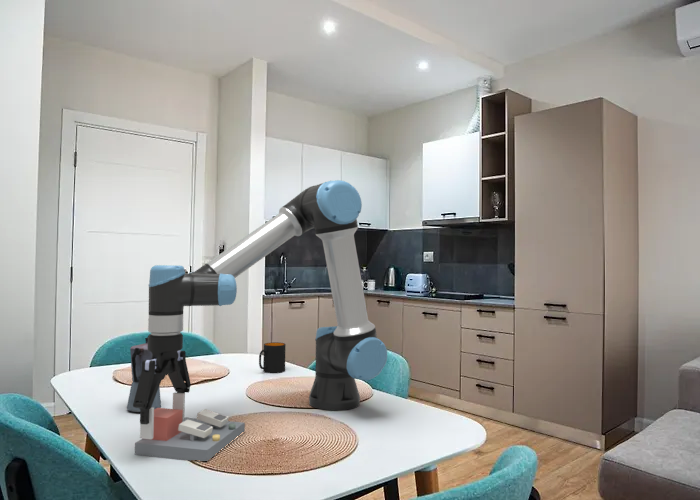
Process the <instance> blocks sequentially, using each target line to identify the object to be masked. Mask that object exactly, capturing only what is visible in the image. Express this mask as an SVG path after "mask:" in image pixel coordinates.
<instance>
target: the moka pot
mask: <svg viewBox="0 0 700 500" xmlns="http://www.w3.org/2000/svg"><path fill="white" fill-rule="evenodd" d="M129 350H130V362H131V363H130V366H131V377H132V378H131V380H132V382H131V384H130V385H131V386H130V390H129V395H128V400H127V404H126V410H127V411H129V412H134V413H135V412H136V413H140V408H135V407H133V403H134V399H135V395H136V391H137V387H138V383H139V379H140V376H141V372H142V361H143V360H151V358H152V352H150V351H148V336H147V337H145V343H141V344H137V345H132V346H131V347H130V349H129ZM154 374H156V373H154ZM160 389H161V388H160V386H159V388H158V391H157V393H156V396H155V399H154V401H153V404H152V408H154V409H156V408H162V401H161V399H162V398H161V390H160ZM139 402H140V401H139ZM147 403H148V402H147Z"/></svg>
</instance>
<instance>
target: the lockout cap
mask: <svg viewBox="0 0 700 500" xmlns="http://www.w3.org/2000/svg"><path fill="white" fill-rule="evenodd" d="M182 417H183V410H179V409H173V408H168V407H167V408H165V407H161V408H156V409H154V433H153V439H152V440H162V441H167V440H169V439H171V438H172V437H174V436H176V435H177V434H179V433H181V432H182V431H178V428H179V424H180V423H182ZM141 439H143V438H140V440H141Z"/></svg>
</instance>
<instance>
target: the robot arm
mask: <svg viewBox="0 0 700 500" xmlns="http://www.w3.org/2000/svg"><path fill="white" fill-rule="evenodd" d="M362 204H363V203H362V198H361V195H360V192H358V190H357V189H356V187H355V186H353V185H352V184H351V183H350V182H347V181H345V180H339V179H337V180H328V181H325V182H322V183H319V184H316V185H312V186H309V187H307V188H305V189H303V190H302V191H301V192H300V193H299V194H297V195H296V196H295V197H294V198H292V199H291V200H290V201H289V202H287V203H286V204H285V205H283V206H281V207H280V208H279V210H278V214H277V215H275V216H273V217H271V218H270V219H269V220H267V221H266V222H264V223H263V224H262V225H261V226H259V227H258V228H256V229H255V230H253V231H252V232H250V233H248V234H247V235H246V236H244V237H243V238H241V239H240V240H238V241H237V242H236V243H234V244H233V245H231V246H230V247H228V248H226V250H225V249H224V251H222V252H221V253H220V254H218V255H217V256H215V257H214V258H212V259H211V260H209V261H208V262H207V263H205V264H204V265H202V266H201V267H199V268H198V269H196V270H195V271H191V272H188V273H186V271H185V267H184V266H183V265H172V264H171V265H165V264H164V265H162V264H161V265H160V264H159V265H157V264H156V265H154V266H152V267H151V268H150V271H149V283H148V320H147V321H148V322H147V323H148V325H147V330H148V332H149V333H150V334H148V336H147V337H148V351H150V352H152V358H151V360H143V361H142V372H141V376H140V379H139V383H138V387H137V391H136V395H135V399H134V403H133V407H135V408H140V412H139V423H140V424H139V425H140V427H139V438H140V439H141V438H143V439H153V433H154V408H152V404H153V401H154V399H155V396H156V393H157V391H158V388H159V387H160V385H161V383H162V380H164V379H165V378H166V376H168V378H169V380H170V382H171V385H172V387H173V389H174V391H175V392H173V393H172V409H179V410H183V417H182V422H183V421H184V417H185V408H186V406H185V405H186V404H185V403H186V393H187V394H188V393H189V392H190V391H191V390H190V388H191V386H192V385H191V384H192V383H191V379H190V374H189V370H188V365H187V359H186V351H185V350H182V349H183V345H184V344H183V343H184V340H183V339H184V335H183V334H182V333H181V332H183V331H184V307H192V306H193V307H201V306H202V307H204V306H205V307H208V306H209V307H210V306H219V307H221V306H222V307H223V306H228V305H229V306H230V305H232V304H234V302H235V301H236V298H237V293H238V292H237V289H238V287H237V286H238V285H237V281H236V278H238V276H240V275H242V274H243V273H244V272H245V271H247V270H248V269H250V268H251V267H253V266H254V265H255V264H256V263H258V262H260V261H261V260H262V259H264V258H265V257H266V256H268V255H269V254H270V253H272V252H273V251H275V250H276V249H278V248H279V247H281V245H283V244H285V243H286V242H287V241H289V240H290V239H292V238H293V237H294V236H296V237H300V236H302V235H303V234H304V233H306V232H308V231H310V230H312V229H314V232H315V236H316V237H318V238H319V239H320V240H321V241H322V246H323V252H324V256H325V263H326V268H327V272H328V273H327V275H328V278H329V285H330V290H331V297H332V300H333V301H332V302H333V307H334V313H335V319H336V323H337V326H335V325H334V326H320V327H318V328H317V329H316V333H315V373H314V374H315V377H314V381H313V383H312V387H311V390H310V392H309V396H308V404H309V406H310V407H312V408H315V409H320V410H325V411H345V410H351V409H355V408H358V407H359V405H360V404H361V396H360V392H359V390H358V389H359V388H358V385H357V383H356V380H361V381H369V380H372V379H374V378H376V377H377V376H379V375H380V373H382V370H383V369H384V368H385V366H386V364H387V360H388V350H387V346H386V345H385V343H384V342H383V341H382V340H381V339H379V338H378V336H377V329H376V325H375V324H374V323H373V322H371V321H370V320H369V316H368V310H367V304H366V299H365V294H364V293H365V292H364V288H363V287H364V286H363V280H362V277H361V270H360V264H359V258H358V253H357V247H356V240H355V233H356V232H357V230H358V229H359V226H358V220H357V219H358V217H359V215H360V213H361V212H362V206H363V205H362ZM154 373H156V374H154ZM139 401H140V402H139ZM147 402H148V403H147Z"/></svg>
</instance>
